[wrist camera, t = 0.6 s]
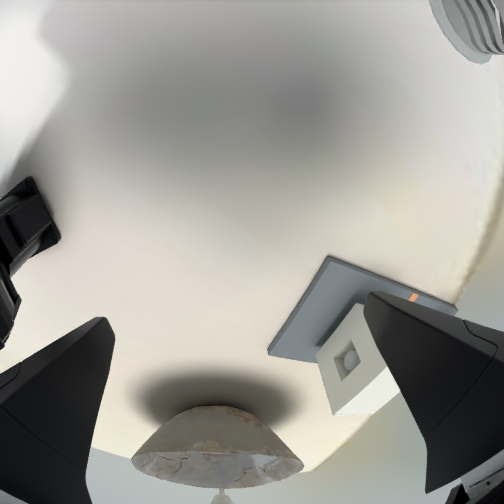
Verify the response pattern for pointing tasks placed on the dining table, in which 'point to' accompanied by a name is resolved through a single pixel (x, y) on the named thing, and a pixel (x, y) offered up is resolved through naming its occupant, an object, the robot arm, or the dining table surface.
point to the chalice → (221, 498)
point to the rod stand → (336, 309)
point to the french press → (471, 26)
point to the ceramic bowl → (216, 450)
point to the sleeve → (363, 376)
